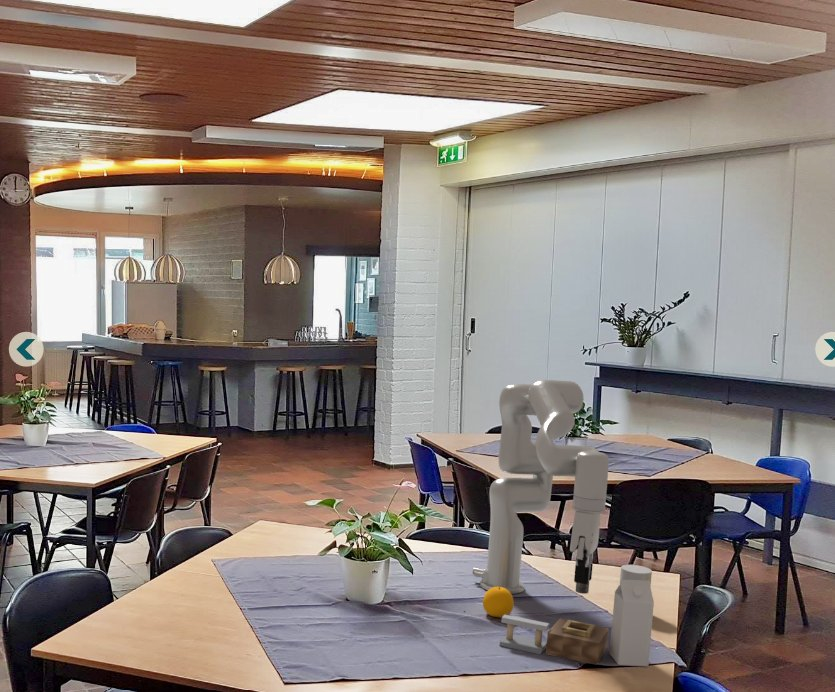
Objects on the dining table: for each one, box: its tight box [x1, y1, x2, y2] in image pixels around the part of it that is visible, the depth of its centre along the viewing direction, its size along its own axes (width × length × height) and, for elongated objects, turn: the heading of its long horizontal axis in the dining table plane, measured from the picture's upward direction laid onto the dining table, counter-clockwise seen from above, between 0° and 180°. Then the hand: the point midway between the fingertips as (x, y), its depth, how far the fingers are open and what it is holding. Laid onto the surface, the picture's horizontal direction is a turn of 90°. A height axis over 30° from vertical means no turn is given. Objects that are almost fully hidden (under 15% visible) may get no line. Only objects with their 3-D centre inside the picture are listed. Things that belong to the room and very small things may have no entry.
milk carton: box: [609, 579, 655, 667], centre depth 220 cm, size 7×7×19 cm
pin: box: [575, 551, 592, 595], centre depth 223 cm, size 3×3×10 cm
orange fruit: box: [482, 587, 515, 618], centre depth 245 cm, size 8×8×8 cm
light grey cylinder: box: [619, 564, 653, 587], centre depth 256 cm, size 8×8×12 cm
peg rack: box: [498, 614, 550, 655], centre depth 224 cm, size 11×6×6 cm, turn 68°
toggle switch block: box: [545, 618, 610, 666], centre depth 223 cm, size 12×12×6 cm
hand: (582, 580), depth 223 cm, fingers closed on pin, 3 cm apart
